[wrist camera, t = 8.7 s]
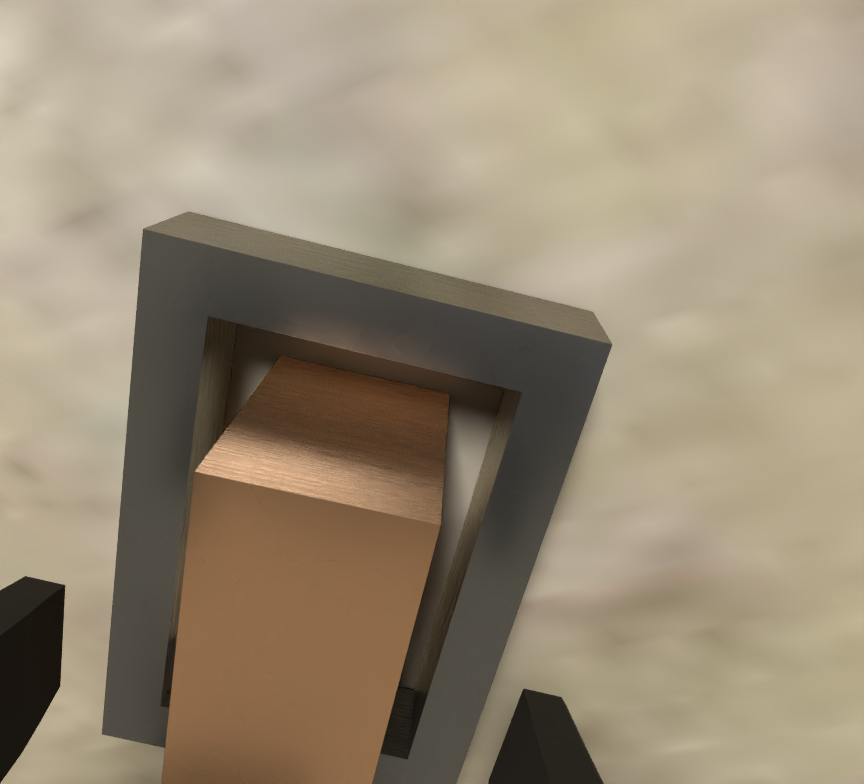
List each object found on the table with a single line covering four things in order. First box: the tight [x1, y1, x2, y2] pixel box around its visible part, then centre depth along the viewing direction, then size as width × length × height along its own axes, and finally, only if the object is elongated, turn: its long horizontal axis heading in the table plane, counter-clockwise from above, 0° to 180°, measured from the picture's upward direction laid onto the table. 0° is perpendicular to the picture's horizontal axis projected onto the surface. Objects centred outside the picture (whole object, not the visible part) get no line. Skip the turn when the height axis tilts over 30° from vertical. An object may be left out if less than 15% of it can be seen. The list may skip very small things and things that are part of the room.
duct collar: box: [102, 212, 612, 784], centre depth 15 cm, size 8×11×2 cm
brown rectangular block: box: [161, 356, 449, 784], centre depth 14 cm, size 7×4×5 cm, turn 167°
